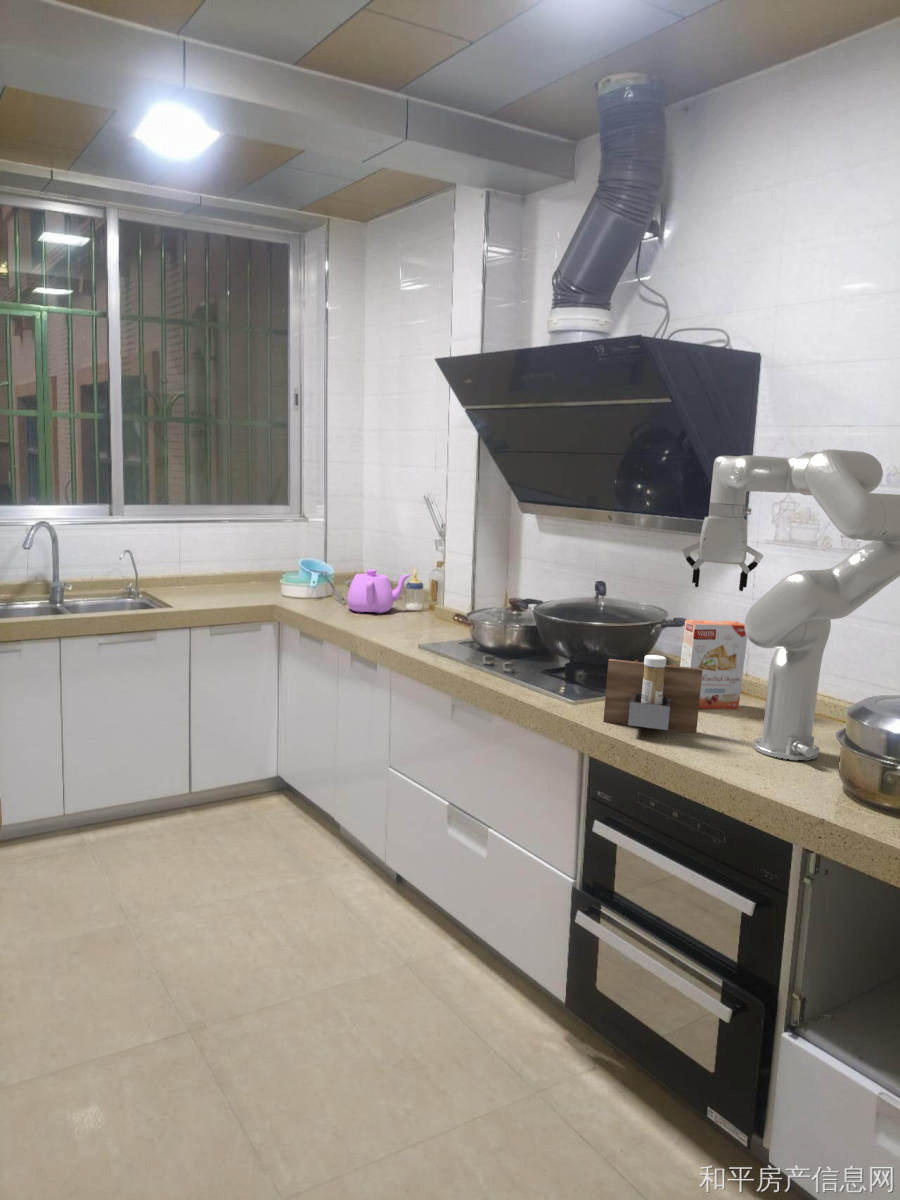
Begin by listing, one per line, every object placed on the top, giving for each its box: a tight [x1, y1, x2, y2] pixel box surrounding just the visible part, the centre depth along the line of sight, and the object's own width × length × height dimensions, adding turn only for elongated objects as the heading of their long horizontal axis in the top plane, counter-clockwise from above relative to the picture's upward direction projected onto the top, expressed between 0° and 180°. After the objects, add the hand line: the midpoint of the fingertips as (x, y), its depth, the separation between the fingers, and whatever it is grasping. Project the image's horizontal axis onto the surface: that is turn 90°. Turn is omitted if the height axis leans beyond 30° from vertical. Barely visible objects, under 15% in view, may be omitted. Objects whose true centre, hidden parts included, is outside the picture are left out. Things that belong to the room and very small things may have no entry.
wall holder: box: [603, 658, 703, 734], centre depth 195 cm, size 11×20×14 cm, turn 75°
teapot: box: [346, 568, 412, 615], centre depth 327 cm, size 23×21×15 cm
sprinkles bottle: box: [641, 654, 667, 705], centre depth 193 cm, size 5×5×14 cm
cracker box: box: [679, 619, 748, 710], centre depth 219 cm, size 14×6×21 cm, turn 101°
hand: (718, 588), depth 205 cm, fingers open, 9 cm apart
